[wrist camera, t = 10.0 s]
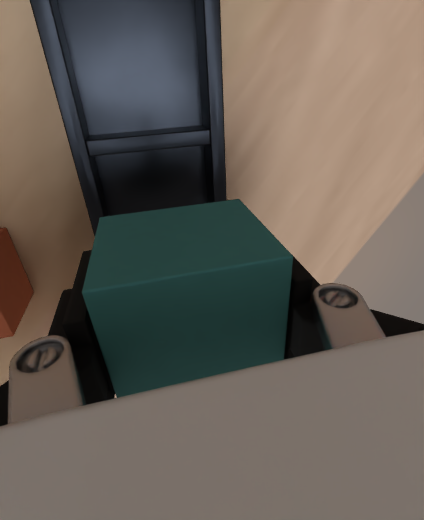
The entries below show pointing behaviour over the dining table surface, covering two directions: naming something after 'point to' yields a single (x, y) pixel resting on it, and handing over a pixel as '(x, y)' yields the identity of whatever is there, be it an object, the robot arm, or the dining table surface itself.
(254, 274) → the pad
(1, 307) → the reddish brown block
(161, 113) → the frame
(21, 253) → the dining table surface
